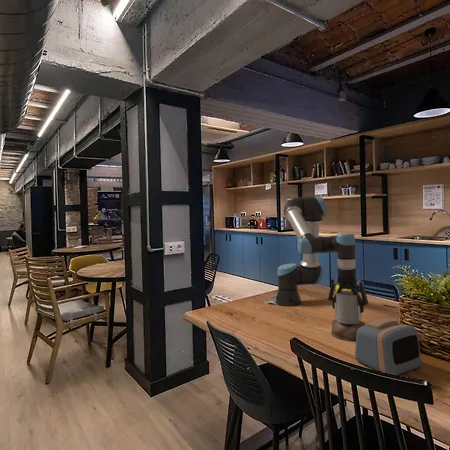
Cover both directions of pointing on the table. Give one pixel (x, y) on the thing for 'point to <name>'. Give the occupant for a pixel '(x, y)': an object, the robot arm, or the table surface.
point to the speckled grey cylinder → (347, 307)
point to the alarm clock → (388, 346)
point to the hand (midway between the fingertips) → (348, 317)
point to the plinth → (345, 330)
